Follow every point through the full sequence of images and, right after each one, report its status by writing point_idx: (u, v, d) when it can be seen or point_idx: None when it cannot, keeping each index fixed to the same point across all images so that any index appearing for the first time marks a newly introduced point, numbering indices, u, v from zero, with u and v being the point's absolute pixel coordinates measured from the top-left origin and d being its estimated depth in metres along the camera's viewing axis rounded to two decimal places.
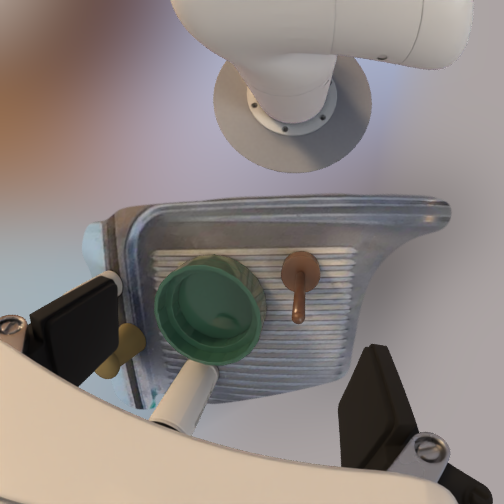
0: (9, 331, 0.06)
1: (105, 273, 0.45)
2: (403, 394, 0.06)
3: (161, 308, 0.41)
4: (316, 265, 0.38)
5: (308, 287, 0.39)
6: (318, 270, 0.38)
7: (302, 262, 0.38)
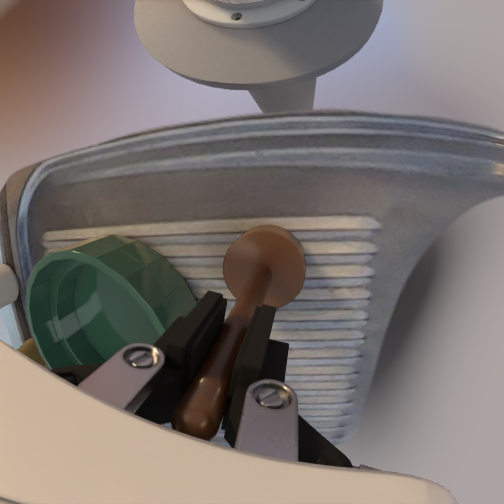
0: (143, 363, 0.07)
1: None
2: (265, 343, 0.08)
3: (41, 324, 0.21)
4: (296, 252, 0.18)
5: (280, 300, 0.19)
6: (301, 263, 0.18)
7: (266, 246, 0.18)
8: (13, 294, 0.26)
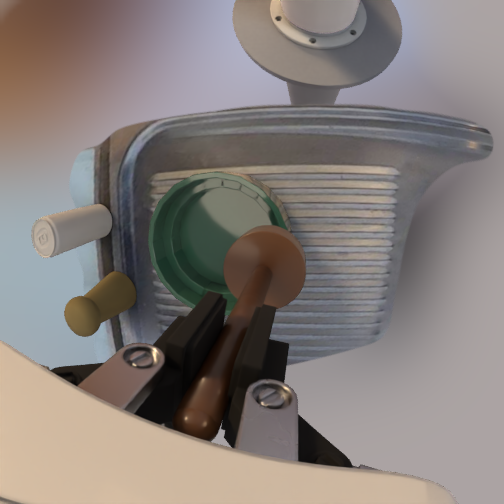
0: (143, 363, 0.06)
1: (93, 205, 0.36)
2: (265, 343, 0.08)
3: (157, 239, 0.32)
4: (297, 252, 0.18)
5: (281, 300, 0.19)
6: (301, 263, 0.18)
7: (267, 246, 0.18)
8: (108, 228, 0.37)
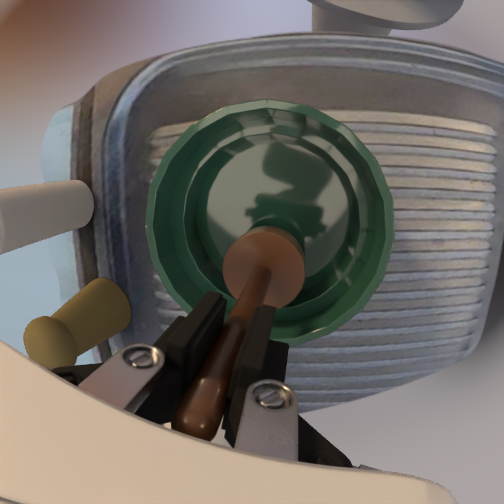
0: (143, 363, 0.06)
1: (66, 181, 0.23)
2: (265, 343, 0.08)
3: (161, 221, 0.19)
4: (296, 253, 0.18)
5: (280, 300, 0.19)
6: (300, 264, 0.18)
7: (266, 247, 0.18)
8: (87, 214, 0.24)
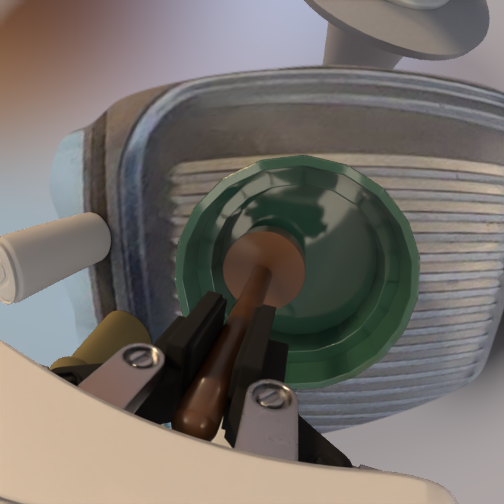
0: (143, 363, 0.07)
1: (81, 215, 0.23)
2: (265, 343, 0.08)
3: (189, 272, 0.19)
4: (296, 253, 0.18)
5: (280, 300, 0.19)
6: (301, 263, 0.18)
7: (266, 246, 0.18)
8: (104, 249, 0.24)
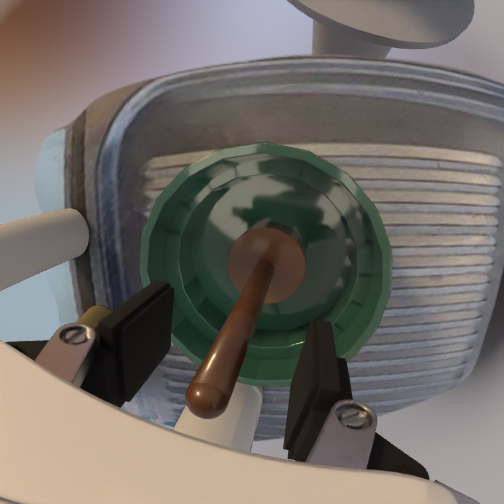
0: (76, 340, 0.07)
1: (60, 210, 0.23)
2: (334, 362, 0.07)
3: (156, 264, 0.19)
4: (297, 248, 0.19)
5: (282, 293, 0.20)
6: (301, 258, 0.19)
7: (269, 242, 0.19)
8: (82, 244, 0.24)
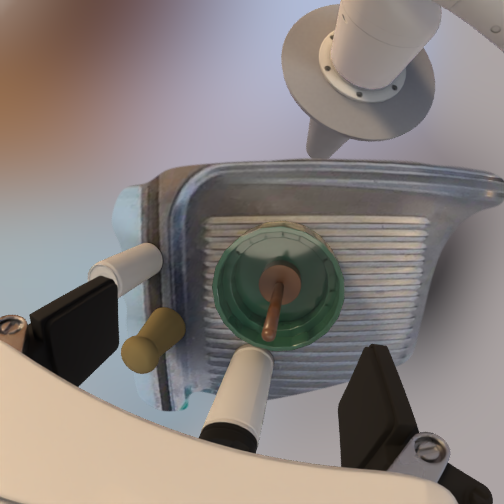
0: (9, 331, 0.06)
1: (143, 245, 0.39)
2: (403, 394, 0.06)
3: (219, 283, 0.36)
4: (296, 275, 0.35)
5: (288, 299, 0.36)
6: (298, 281, 0.36)
7: (281, 272, 0.36)
8: (159, 268, 0.40)
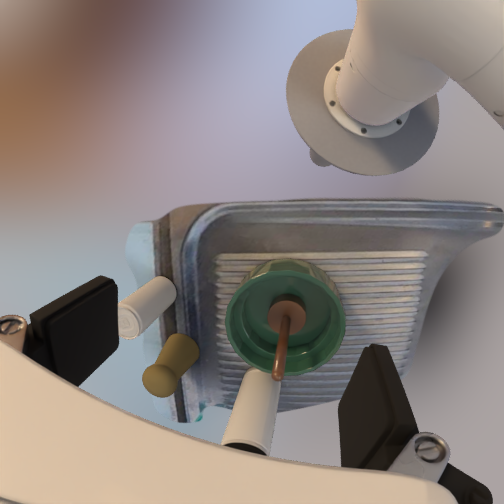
0: (9, 331, 0.06)
1: (157, 279, 0.42)
2: (403, 394, 0.06)
3: (231, 318, 0.38)
4: (302, 310, 0.38)
5: (294, 330, 0.39)
6: (304, 314, 0.38)
7: (288, 307, 0.38)
8: (173, 299, 0.43)
